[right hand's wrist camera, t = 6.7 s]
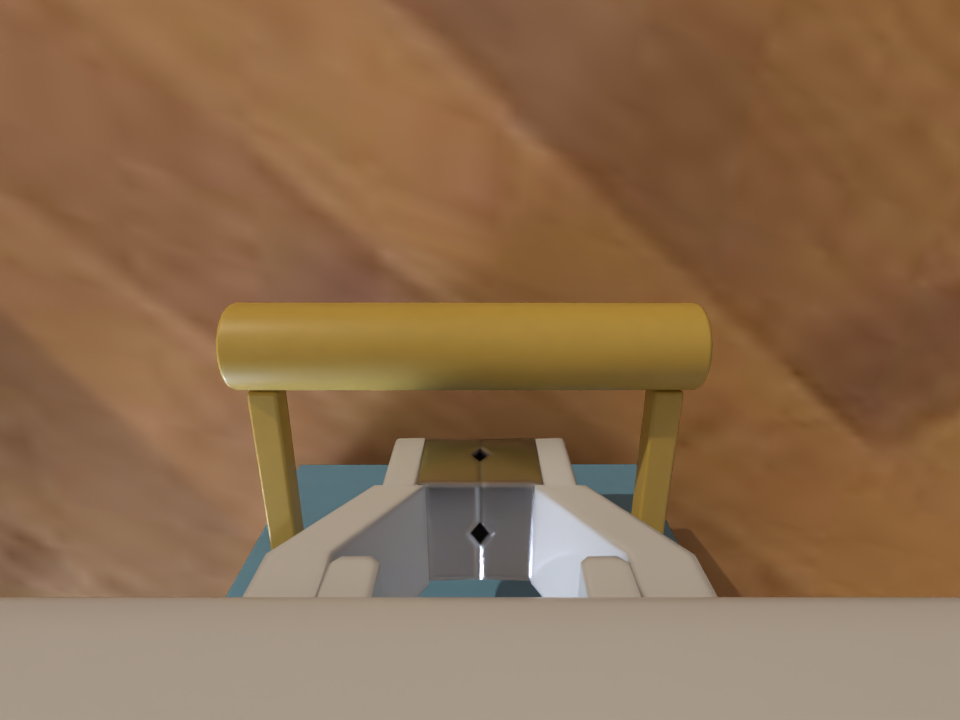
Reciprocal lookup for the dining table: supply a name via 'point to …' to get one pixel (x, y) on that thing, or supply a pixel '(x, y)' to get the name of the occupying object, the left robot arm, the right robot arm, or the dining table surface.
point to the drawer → (457, 366)
